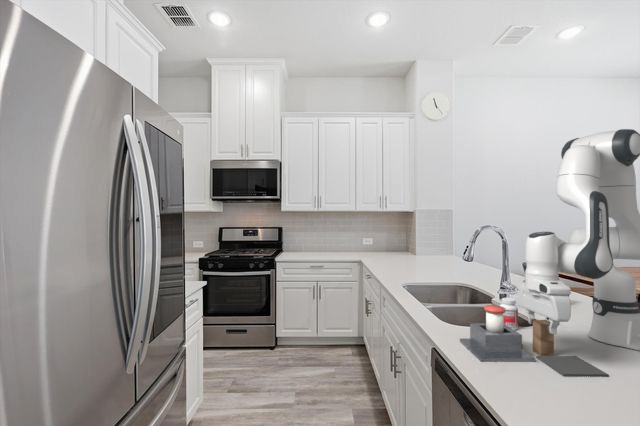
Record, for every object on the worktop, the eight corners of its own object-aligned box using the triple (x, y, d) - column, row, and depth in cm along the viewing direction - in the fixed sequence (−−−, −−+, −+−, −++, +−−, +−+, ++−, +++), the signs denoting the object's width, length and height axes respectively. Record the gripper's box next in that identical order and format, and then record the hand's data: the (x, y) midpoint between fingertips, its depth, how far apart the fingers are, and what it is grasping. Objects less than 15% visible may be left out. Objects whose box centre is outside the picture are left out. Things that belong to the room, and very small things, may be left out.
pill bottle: (507, 324, 136) (507, 296, 136) (521, 329, 130) (521, 300, 130) (495, 326, 133) (495, 297, 133) (509, 331, 128) (509, 301, 128)
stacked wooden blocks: (545, 351, 110) (545, 319, 110) (553, 356, 106) (553, 323, 106) (532, 351, 110) (532, 319, 110) (540, 356, 106) (540, 323, 106)
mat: (575, 357, 105) (575, 355, 105) (608, 376, 93) (608, 374, 93) (536, 357, 105) (536, 355, 105) (563, 376, 93) (563, 374, 93)
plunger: (499, 332, 113) (499, 305, 113) (509, 339, 107) (509, 310, 107) (481, 332, 113) (481, 305, 113) (489, 339, 107) (489, 310, 107)
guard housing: (506, 341, 118) (506, 321, 118) (535, 361, 102) (535, 338, 102) (459, 341, 118) (459, 321, 118) (480, 361, 102) (480, 338, 102)
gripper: (513, 278, 118) (513, 319, 118) (552, 289, 98) (553, 339, 97) (531, 278, 118) (531, 319, 118) (575, 290, 98) (575, 339, 97)
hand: (541, 328), depth 107 cm, fingers open, 8 cm apart
